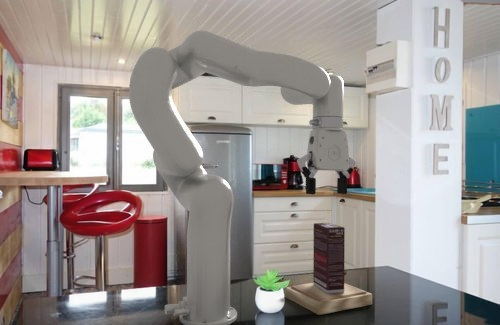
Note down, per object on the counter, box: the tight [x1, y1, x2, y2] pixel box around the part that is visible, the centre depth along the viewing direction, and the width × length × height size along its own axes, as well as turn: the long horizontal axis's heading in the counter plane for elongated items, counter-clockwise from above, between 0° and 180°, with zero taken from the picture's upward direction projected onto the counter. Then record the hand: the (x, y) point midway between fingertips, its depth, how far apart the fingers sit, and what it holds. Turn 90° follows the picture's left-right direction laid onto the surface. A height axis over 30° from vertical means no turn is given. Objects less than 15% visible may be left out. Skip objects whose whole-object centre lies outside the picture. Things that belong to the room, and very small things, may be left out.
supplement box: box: [312, 222, 346, 294], centre depth 102 cm, size 9×5×16 cm, turn 15°
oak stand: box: [285, 282, 373, 315], centre depth 102 cm, size 16×14×3 cm
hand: (326, 193), depth 102 cm, fingers open, 9 cm apart
